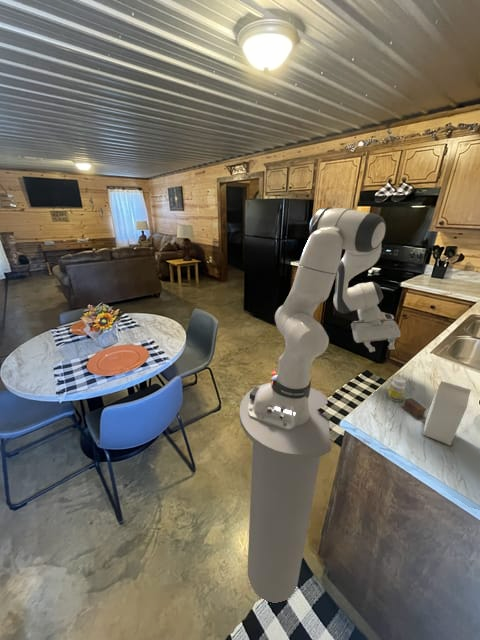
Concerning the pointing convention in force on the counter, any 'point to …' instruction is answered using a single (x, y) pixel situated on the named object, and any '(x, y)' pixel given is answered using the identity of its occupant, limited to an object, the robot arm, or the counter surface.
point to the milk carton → (446, 412)
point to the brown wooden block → (414, 408)
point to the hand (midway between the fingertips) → (382, 350)
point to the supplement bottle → (397, 389)
